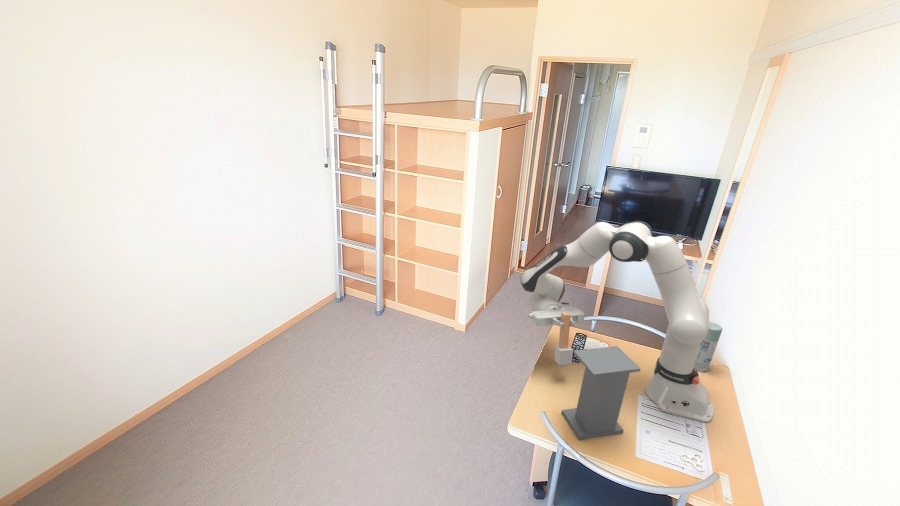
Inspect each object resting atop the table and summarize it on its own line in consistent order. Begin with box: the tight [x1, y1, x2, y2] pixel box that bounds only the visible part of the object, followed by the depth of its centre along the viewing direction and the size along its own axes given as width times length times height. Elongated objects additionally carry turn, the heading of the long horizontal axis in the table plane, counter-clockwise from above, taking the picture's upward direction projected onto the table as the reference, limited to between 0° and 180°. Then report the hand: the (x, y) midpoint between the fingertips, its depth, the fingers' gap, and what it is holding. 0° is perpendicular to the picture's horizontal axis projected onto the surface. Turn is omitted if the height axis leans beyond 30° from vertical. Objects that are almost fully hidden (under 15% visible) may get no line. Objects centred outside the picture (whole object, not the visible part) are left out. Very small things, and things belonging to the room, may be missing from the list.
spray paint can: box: [694, 321, 723, 373], centre depth 168 cm, size 6×6×20 cm
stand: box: [561, 345, 641, 441], centre depth 135 cm, size 12×16×26 cm
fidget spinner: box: [679, 452, 705, 473], centre depth 127 cm, size 7×6×1 cm
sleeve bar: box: [554, 312, 574, 366], centre depth 154 cm, size 20×5×4 cm
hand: (567, 324), depth 152 cm, fingers closed on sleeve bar, 2 cm apart
